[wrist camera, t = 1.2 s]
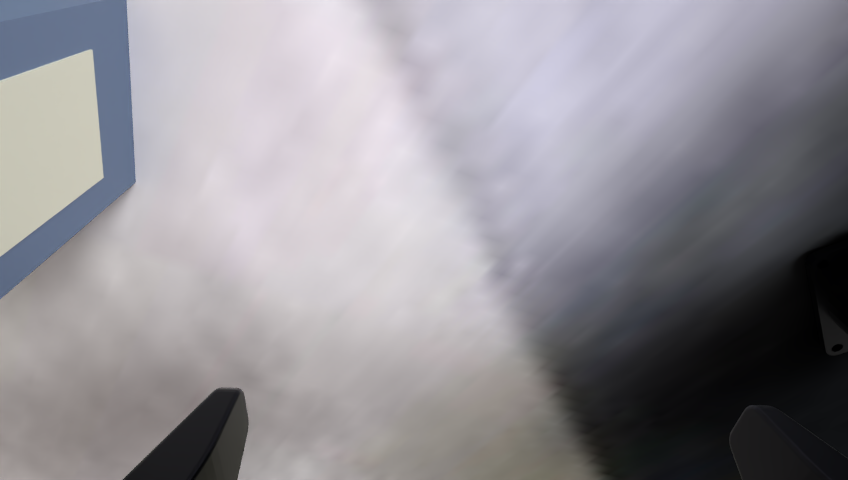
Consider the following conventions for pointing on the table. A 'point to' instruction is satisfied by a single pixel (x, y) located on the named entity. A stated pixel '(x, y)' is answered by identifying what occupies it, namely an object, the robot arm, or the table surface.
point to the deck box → (60, 124)
